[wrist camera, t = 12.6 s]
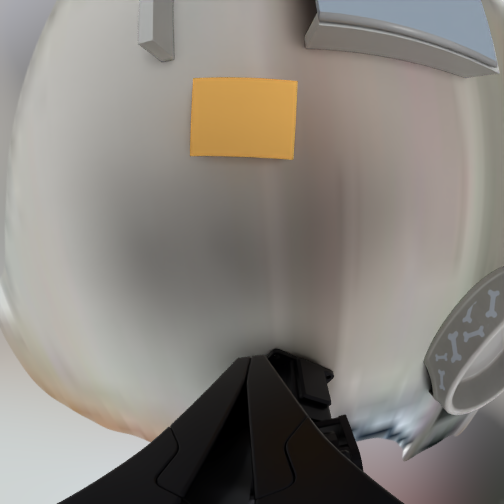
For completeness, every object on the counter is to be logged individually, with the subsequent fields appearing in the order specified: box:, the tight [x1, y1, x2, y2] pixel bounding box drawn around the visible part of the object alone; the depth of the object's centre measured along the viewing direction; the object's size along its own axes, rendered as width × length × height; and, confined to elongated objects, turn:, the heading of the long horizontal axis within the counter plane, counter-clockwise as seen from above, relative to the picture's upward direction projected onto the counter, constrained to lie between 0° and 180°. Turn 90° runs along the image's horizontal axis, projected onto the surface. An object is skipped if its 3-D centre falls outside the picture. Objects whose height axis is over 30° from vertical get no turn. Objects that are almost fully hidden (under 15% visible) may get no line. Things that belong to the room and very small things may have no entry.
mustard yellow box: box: [190, 77, 298, 160], centre depth 14 cm, size 4×5×4 cm
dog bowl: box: [424, 266, 504, 415], centre depth 20 cm, size 17×18×5 cm
